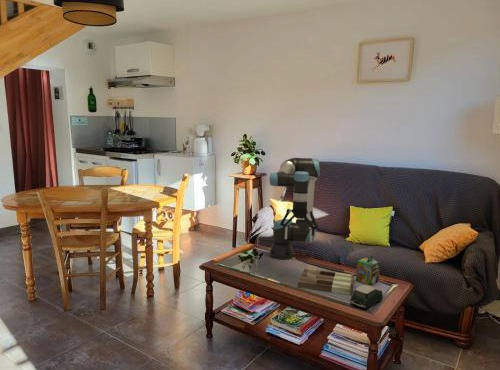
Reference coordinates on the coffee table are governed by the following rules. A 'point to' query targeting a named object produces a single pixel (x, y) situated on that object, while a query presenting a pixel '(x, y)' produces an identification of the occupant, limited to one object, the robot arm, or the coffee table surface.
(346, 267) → the coffee table surface
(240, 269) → the coffee table surface
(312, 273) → the birch block
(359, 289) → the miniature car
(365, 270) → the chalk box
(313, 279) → the brown striped flat block
